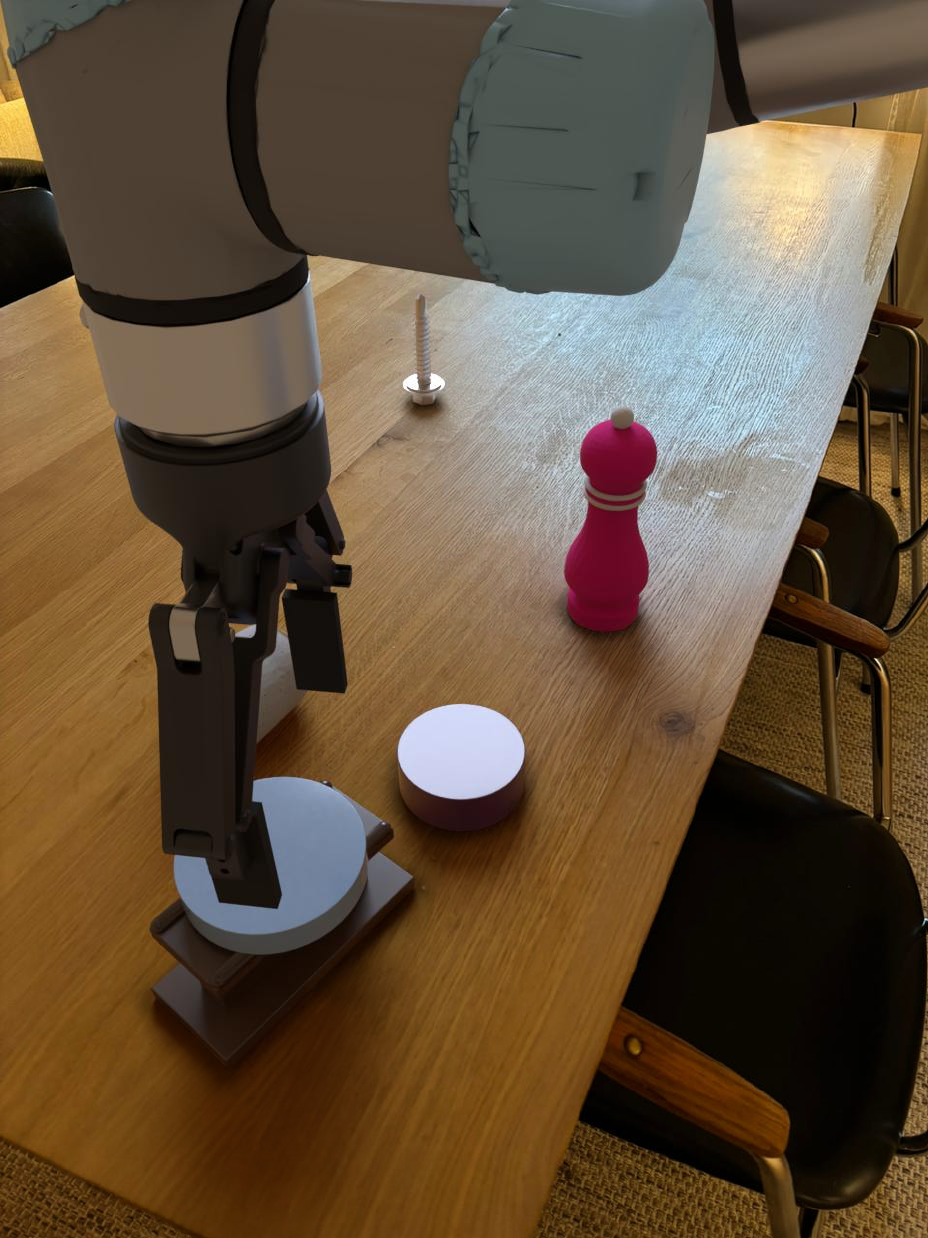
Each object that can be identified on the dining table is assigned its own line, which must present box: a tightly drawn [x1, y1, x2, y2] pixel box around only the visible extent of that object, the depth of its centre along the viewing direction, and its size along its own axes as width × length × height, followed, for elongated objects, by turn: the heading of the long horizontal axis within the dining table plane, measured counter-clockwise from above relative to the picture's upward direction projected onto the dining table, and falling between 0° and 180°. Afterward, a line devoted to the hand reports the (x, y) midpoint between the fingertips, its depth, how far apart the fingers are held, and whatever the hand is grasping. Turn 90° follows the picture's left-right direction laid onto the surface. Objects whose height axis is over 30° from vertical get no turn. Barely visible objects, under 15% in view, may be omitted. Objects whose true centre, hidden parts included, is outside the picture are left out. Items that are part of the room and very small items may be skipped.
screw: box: [402, 293, 445, 406], centre depth 113 cm, size 13×5×5 cm
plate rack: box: [148, 779, 415, 1071], centre depth 61 cm, size 7×16×8 cm, turn 140°
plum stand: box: [396, 703, 526, 832], centre depth 72 cm, size 9×9×4 cm
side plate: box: [172, 776, 369, 955], centre depth 58 cm, size 11×11×2 cm
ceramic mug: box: [235, 624, 309, 744], centre depth 76 cm, size 11×8×8 cm
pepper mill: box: [563, 405, 658, 633], centre depth 82 cm, size 7×7×20 cm
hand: (290, 782), depth 50 cm, fingers open, 13 cm apart
